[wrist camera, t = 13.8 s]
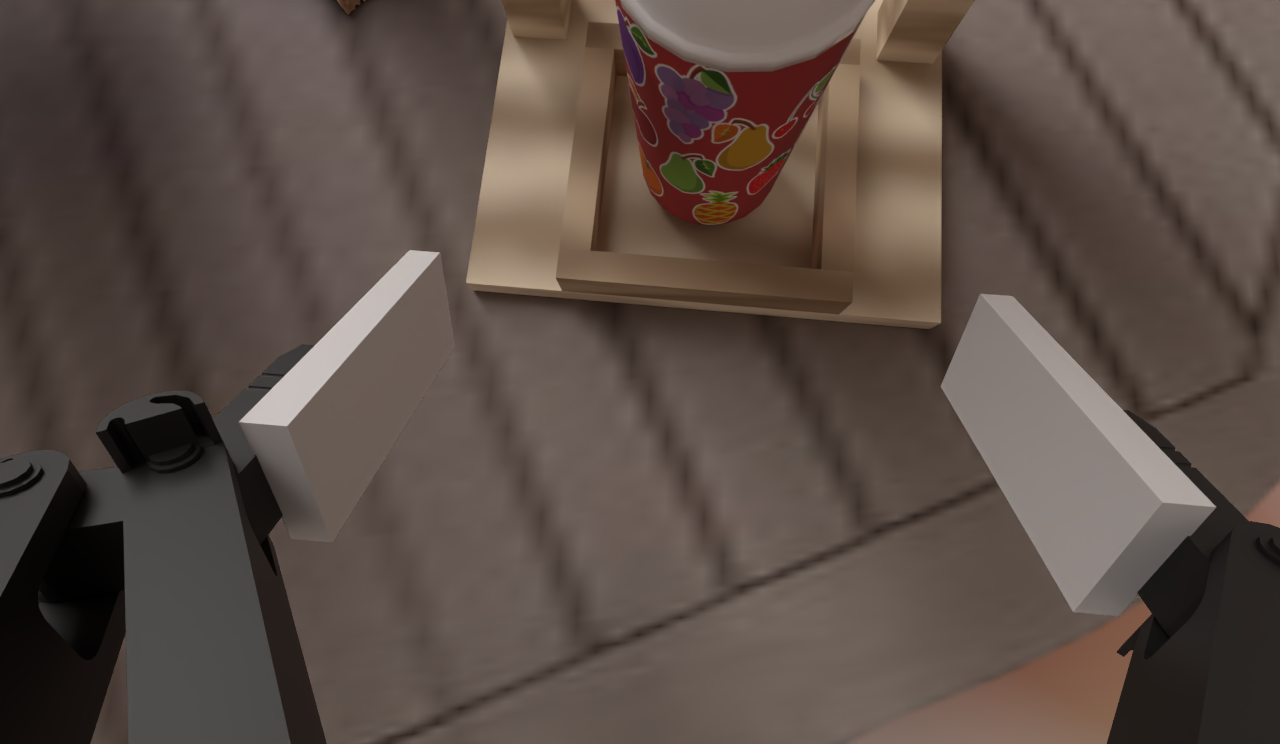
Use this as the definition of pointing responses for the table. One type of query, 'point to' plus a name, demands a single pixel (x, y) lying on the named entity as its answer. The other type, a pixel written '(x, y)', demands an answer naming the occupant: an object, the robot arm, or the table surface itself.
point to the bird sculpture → (349, 5)
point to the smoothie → (727, 93)
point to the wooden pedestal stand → (742, 249)
